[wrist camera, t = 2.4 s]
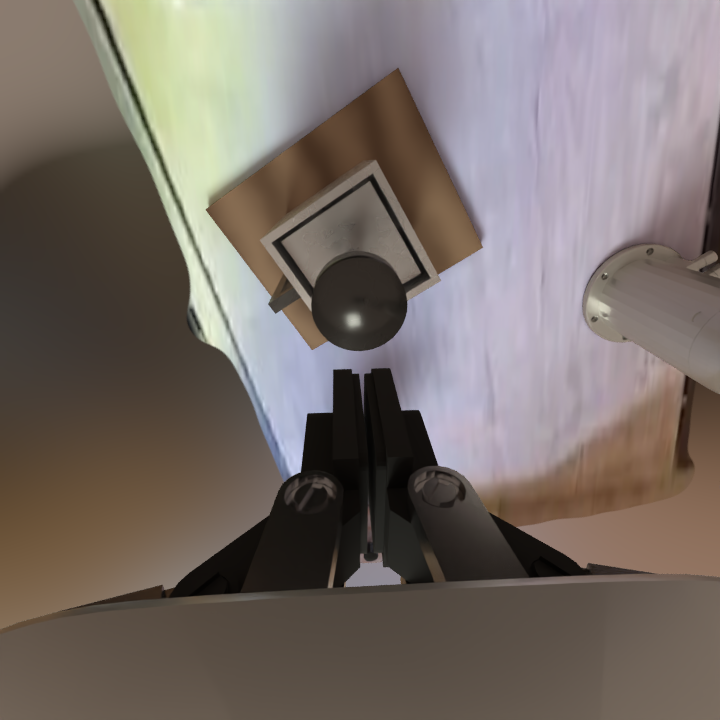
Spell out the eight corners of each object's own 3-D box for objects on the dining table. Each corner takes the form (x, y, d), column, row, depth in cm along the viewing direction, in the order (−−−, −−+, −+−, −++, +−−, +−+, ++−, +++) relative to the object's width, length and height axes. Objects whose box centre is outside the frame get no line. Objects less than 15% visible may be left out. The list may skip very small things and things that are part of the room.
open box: (363, 160, 42) (375, 159, 28) (409, 243, 46) (441, 280, 31) (263, 229, 44) (227, 262, 30) (315, 302, 48) (305, 361, 34)
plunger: (369, 180, 30) (387, 192, 18) (419, 270, 33) (461, 328, 22) (282, 239, 32) (249, 284, 20) (338, 320, 35) (337, 398, 23)
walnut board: (396, 70, 39) (398, 67, 38) (479, 245, 47) (482, 247, 46) (208, 208, 44) (205, 209, 43) (312, 346, 52) (312, 350, 51)
